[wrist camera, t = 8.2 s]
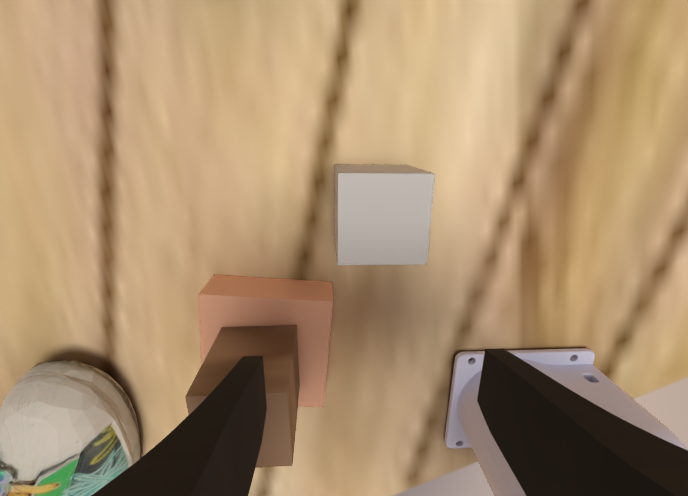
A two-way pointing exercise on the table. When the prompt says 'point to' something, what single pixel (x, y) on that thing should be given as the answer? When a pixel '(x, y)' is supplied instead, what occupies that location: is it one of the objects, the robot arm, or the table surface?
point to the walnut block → (279, 382)
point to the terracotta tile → (274, 320)
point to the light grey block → (382, 214)
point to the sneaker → (65, 431)
